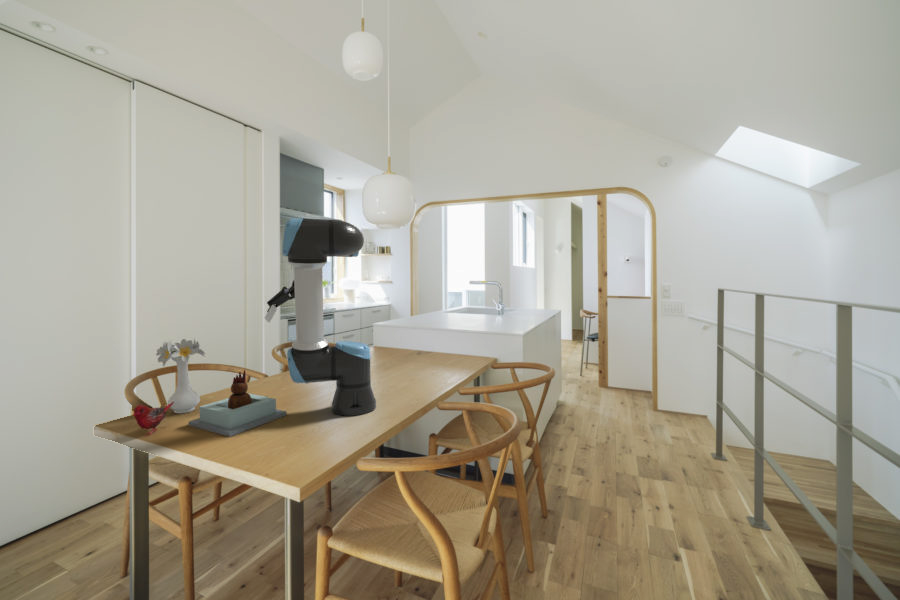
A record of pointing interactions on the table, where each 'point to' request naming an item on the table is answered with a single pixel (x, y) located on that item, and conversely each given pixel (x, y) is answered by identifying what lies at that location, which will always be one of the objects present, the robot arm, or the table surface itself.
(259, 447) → the table surface
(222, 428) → the collar stand
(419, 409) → the table surface
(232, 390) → the wooden figurine
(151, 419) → the decorative bird figurine
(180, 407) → the flower vase
